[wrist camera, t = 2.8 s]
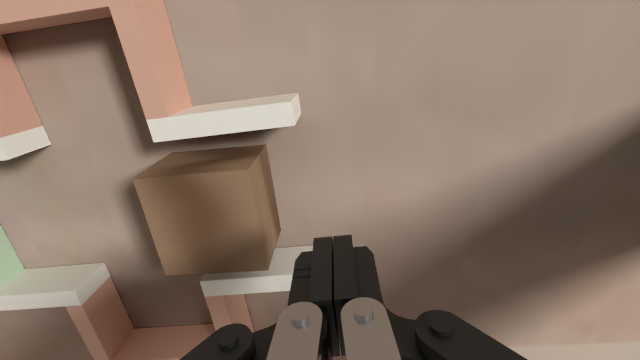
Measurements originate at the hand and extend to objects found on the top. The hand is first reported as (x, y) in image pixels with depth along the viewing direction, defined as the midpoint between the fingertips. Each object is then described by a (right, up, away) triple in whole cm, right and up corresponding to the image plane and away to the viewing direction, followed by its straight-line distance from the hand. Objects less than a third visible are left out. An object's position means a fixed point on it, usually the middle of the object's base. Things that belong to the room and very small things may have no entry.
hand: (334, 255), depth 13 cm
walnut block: (-6, +2, +9) cm, 11 cm away
